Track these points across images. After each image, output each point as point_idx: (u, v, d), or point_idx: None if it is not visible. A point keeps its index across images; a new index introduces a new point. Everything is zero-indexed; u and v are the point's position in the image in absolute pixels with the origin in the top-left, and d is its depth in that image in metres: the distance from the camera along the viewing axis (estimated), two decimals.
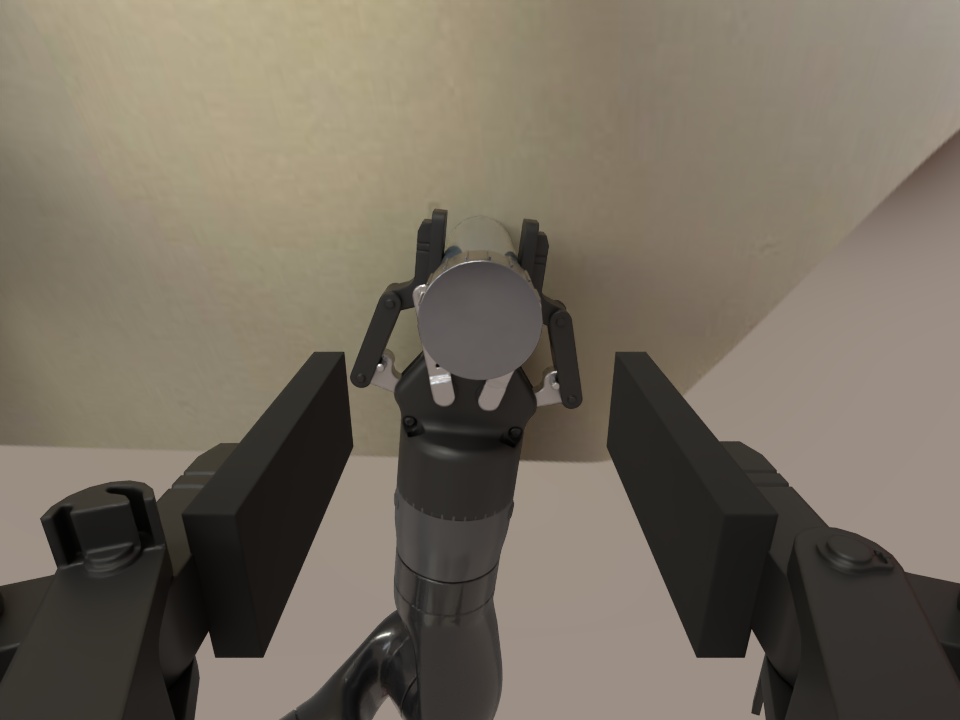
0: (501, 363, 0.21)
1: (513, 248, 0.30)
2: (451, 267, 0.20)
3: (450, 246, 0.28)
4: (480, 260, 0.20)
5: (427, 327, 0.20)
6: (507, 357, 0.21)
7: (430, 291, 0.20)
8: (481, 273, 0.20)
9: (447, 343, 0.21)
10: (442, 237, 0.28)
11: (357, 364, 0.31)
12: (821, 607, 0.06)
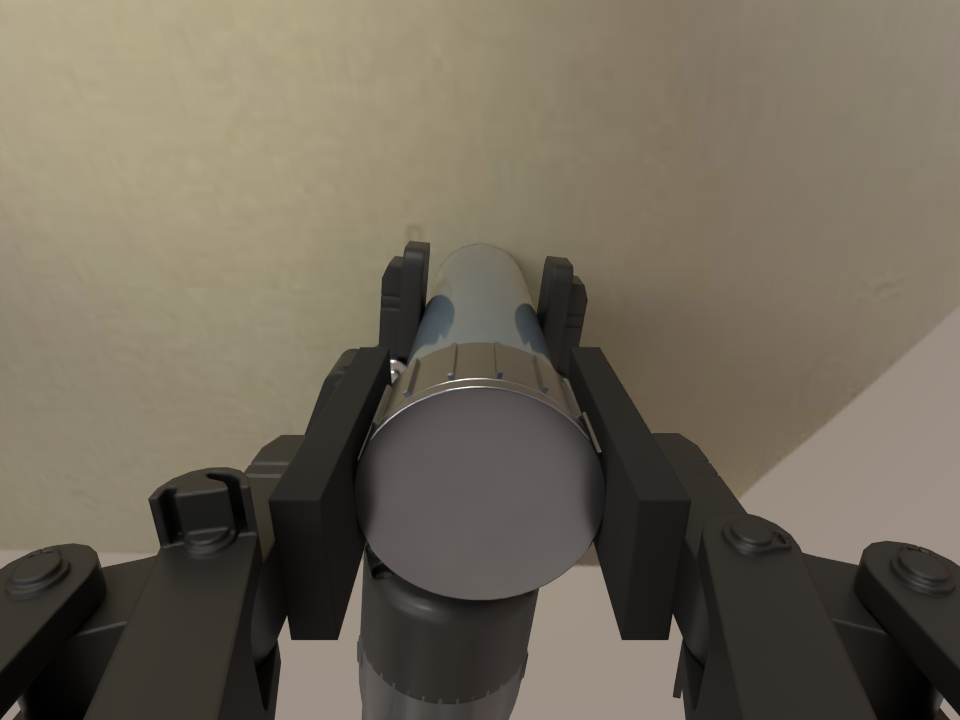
0: (522, 572, 0.11)
1: (531, 301, 0.19)
2: (419, 398, 0.09)
3: (432, 303, 0.17)
4: (480, 385, 0.09)
5: (373, 510, 0.10)
6: (534, 562, 0.11)
7: (376, 445, 0.10)
8: (482, 411, 0.09)
9: (414, 538, 0.10)
10: (420, 288, 0.18)
11: None
12: (725, 591, 0.06)
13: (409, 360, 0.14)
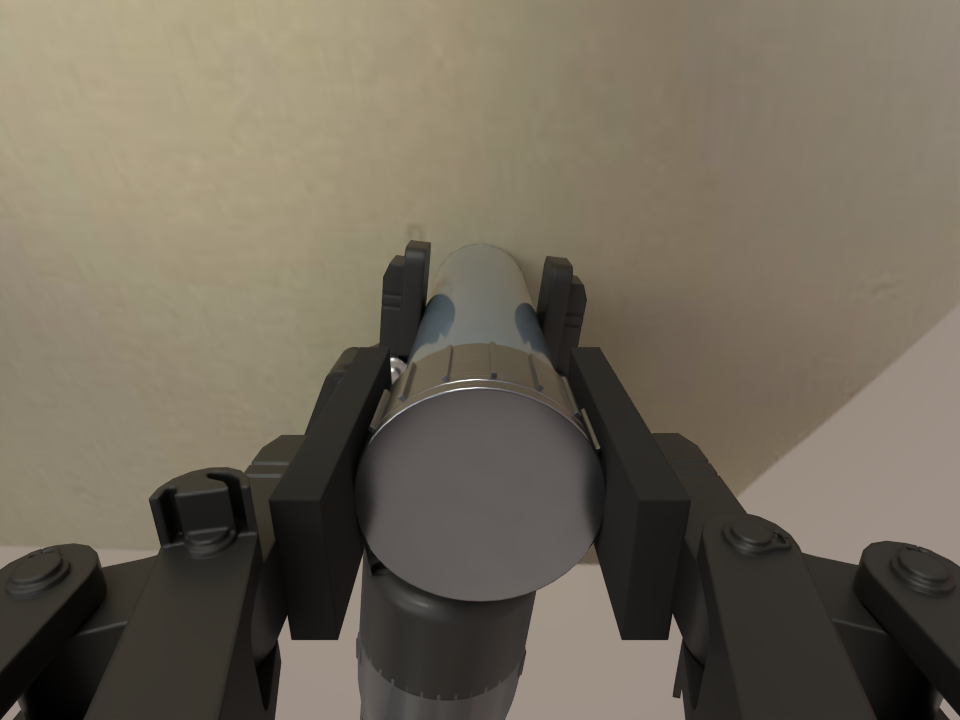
0: (553, 442, 0.10)
1: (530, 301, 0.20)
2: (395, 572, 0.11)
3: (433, 302, 0.18)
4: (362, 533, 0.10)
5: (520, 581, 0.11)
6: (536, 434, 0.10)
7: (450, 593, 0.11)
8: (383, 528, 0.10)
9: (540, 544, 0.10)
10: (421, 287, 0.18)
11: None
12: (725, 591, 0.06)
13: (410, 358, 0.14)
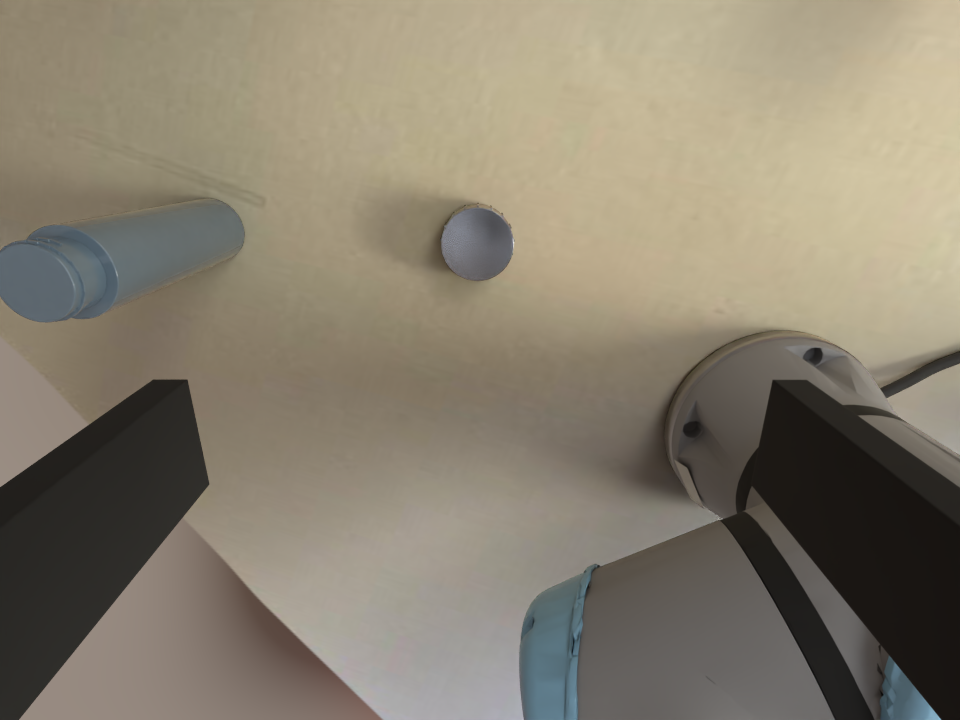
0: (473, 272, 0.36)
1: None
2: (482, 207, 0.34)
3: (178, 232, 0.29)
4: (498, 214, 0.34)
5: (450, 229, 0.35)
6: (478, 271, 0.36)
7: (464, 212, 0.34)
8: (494, 220, 0.34)
9: (454, 244, 0.35)
10: None
11: None
12: None
13: (125, 237, 0.25)
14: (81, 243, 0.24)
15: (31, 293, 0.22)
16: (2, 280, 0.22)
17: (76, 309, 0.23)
